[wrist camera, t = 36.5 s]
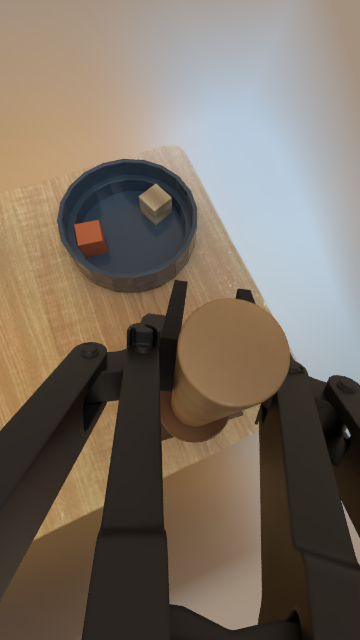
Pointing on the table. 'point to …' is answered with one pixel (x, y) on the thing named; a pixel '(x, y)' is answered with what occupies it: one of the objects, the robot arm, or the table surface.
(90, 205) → the bowl
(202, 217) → the table surface
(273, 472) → the robot arm
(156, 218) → the cream block
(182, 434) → the pestle
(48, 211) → the table surface
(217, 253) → the table surface
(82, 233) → the terracotta block
